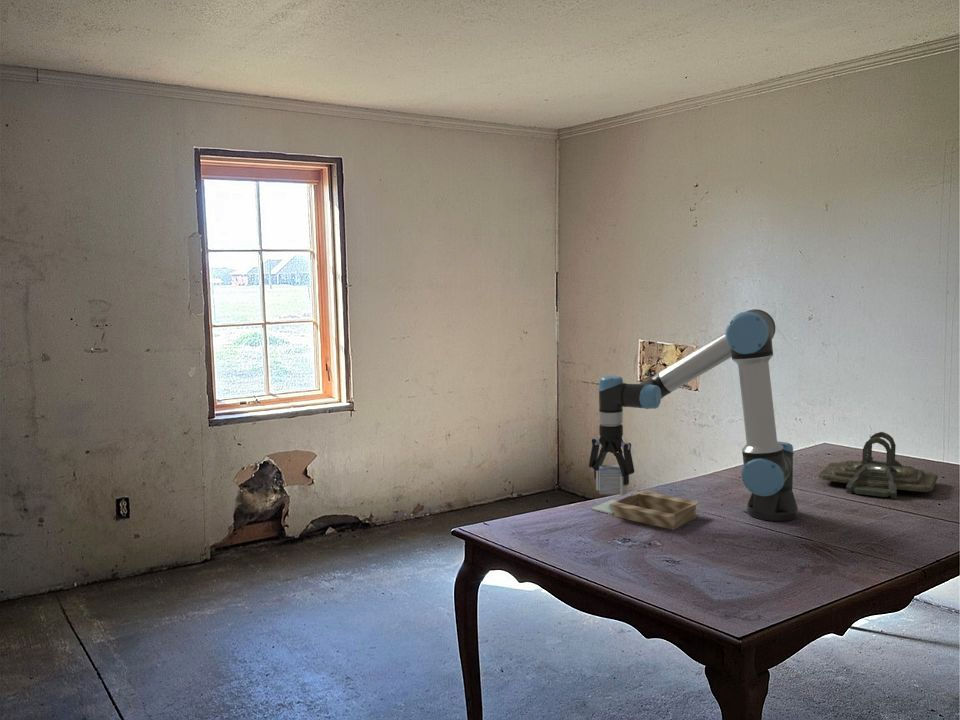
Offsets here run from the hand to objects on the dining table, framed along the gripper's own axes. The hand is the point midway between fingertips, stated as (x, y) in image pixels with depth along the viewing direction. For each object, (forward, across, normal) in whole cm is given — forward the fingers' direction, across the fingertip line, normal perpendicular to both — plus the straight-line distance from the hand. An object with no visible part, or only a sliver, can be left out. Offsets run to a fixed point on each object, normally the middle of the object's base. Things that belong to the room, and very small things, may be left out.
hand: (611, 491), depth 266 cm
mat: (+5, 0, 0) cm, 5 cm away
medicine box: (+1, 0, 0) cm, 1 cm away
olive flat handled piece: (+6, -58, -77) cm, 97 cm away
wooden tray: (+5, -16, 0) cm, 17 cm away
